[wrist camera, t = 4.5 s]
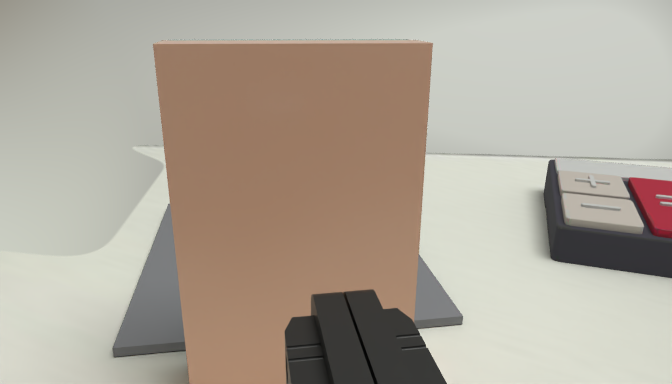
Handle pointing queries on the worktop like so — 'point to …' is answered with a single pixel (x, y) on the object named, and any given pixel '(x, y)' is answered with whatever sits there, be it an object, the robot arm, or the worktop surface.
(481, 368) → the worktop surface
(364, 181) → the tile
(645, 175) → the calculator
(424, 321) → the mat
